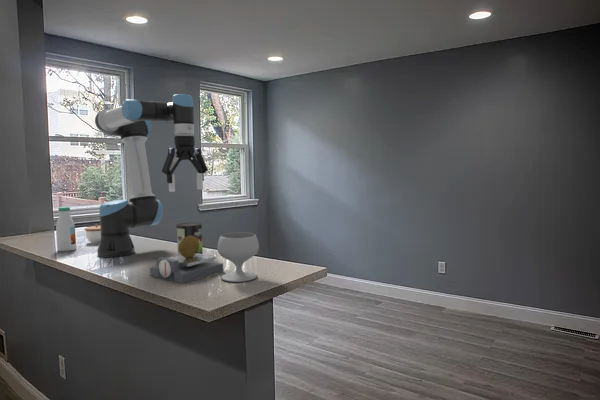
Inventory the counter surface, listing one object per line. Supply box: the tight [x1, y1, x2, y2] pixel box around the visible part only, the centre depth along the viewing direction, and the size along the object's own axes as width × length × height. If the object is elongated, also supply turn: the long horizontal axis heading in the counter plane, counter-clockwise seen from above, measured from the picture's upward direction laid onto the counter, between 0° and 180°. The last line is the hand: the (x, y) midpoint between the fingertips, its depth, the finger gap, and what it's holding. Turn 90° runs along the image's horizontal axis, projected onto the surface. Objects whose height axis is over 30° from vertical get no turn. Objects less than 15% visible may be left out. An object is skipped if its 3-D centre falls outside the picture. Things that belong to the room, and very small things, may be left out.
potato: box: [179, 236, 200, 258], centre depth 155 cm, size 7×8×8 cm
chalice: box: [217, 231, 260, 283], centre depth 147 cm, size 14×14×15 cm
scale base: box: [149, 256, 224, 284], centre depth 154 cm, size 18×19×7 cm
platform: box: [168, 253, 217, 267], centre depth 155 cm, size 13×13×1 cm
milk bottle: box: [55, 206, 77, 252], centre depth 199 cm, size 8×8×20 cm
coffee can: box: [175, 222, 204, 256], centre depth 180 cm, size 10×10×14 cm
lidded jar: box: [84, 223, 101, 244], centre depth 218 cm, size 11×11×9 cm
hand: (186, 190), depth 168 cm, fingers open, 13 cm apart
